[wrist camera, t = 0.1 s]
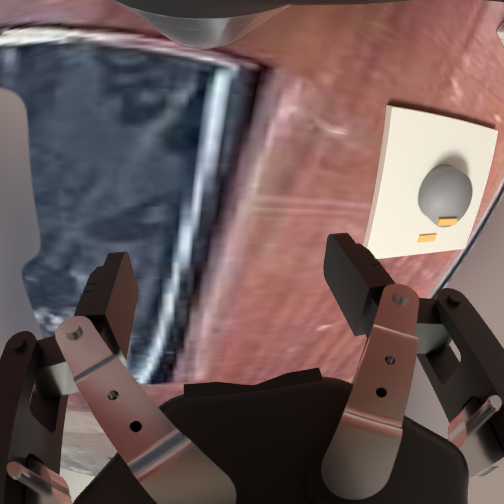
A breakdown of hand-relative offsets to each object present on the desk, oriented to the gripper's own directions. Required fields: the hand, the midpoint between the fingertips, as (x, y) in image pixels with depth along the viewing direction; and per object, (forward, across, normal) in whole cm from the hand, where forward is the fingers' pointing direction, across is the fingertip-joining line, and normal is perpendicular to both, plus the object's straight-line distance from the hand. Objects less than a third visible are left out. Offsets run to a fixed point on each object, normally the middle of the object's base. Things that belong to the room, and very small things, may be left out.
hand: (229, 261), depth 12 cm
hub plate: (+17, -26, +4) cm, 31 cm away
